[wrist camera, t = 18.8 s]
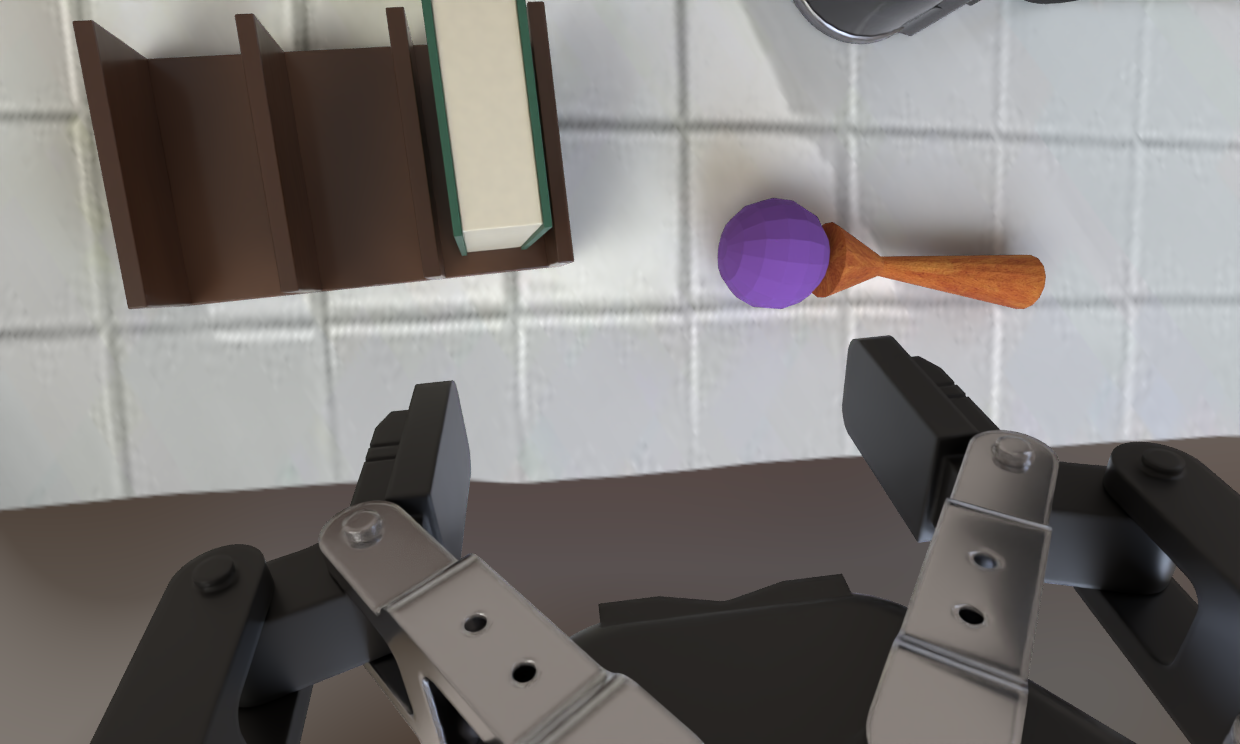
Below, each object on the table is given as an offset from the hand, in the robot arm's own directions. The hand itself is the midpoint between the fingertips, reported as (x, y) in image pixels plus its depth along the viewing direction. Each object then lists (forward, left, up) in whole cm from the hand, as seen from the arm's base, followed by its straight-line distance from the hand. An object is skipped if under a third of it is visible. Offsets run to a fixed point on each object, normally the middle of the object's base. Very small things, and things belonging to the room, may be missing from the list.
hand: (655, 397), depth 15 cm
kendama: (-18, -8, -27) cm, 34 cm away
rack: (+11, -6, -27) cm, 30 cm away
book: (+5, -8, -26) cm, 28 cm away
